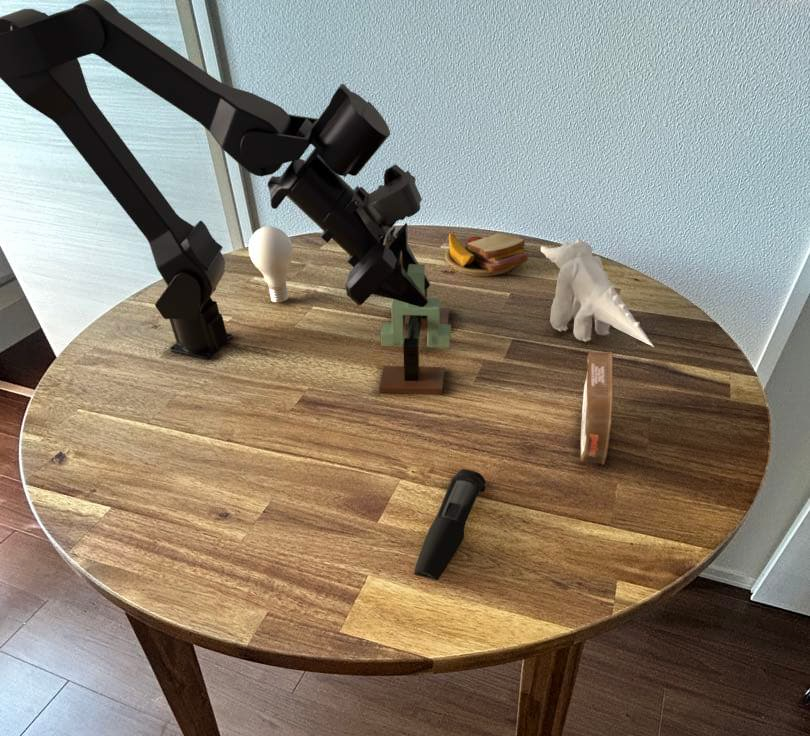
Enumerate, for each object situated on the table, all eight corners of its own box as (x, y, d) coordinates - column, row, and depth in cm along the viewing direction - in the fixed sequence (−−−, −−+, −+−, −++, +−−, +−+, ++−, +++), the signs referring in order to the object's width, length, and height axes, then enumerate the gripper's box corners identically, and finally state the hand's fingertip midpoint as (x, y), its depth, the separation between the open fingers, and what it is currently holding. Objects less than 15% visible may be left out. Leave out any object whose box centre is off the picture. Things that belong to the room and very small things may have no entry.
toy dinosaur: (553, 295, 98) (564, 219, 90) (666, 370, 84) (691, 287, 76) (516, 306, 96) (524, 229, 88) (624, 385, 82) (645, 301, 74)
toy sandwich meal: (499, 241, 113) (502, 212, 109) (537, 272, 104) (541, 242, 100) (433, 254, 110) (433, 225, 106) (466, 287, 101) (467, 257, 98)
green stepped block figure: (381, 345, 87) (378, 273, 80) (383, 334, 89) (380, 262, 82) (449, 347, 87) (452, 274, 80) (450, 336, 89) (453, 264, 82)
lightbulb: (309, 297, 100) (298, 224, 92) (282, 315, 97) (269, 240, 89) (277, 288, 103) (264, 216, 95) (250, 305, 99) (235, 231, 91)
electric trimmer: (403, 585, 61) (402, 563, 59) (455, 479, 71) (455, 457, 68) (441, 596, 60) (441, 574, 58) (488, 487, 70) (490, 465, 67)
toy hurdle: (379, 392, 82) (376, 351, 78) (395, 311, 97) (393, 273, 92) (442, 394, 82) (442, 353, 77) (448, 312, 96) (449, 274, 92)
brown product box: (603, 480, 70) (619, 416, 64) (573, 477, 70) (587, 413, 64) (603, 400, 80) (618, 337, 74) (577, 397, 80) (589, 335, 74)
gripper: (366, 180, 65) (471, 287, 72) (386, 125, 78) (474, 221, 85) (301, 257, 72) (404, 349, 79) (329, 195, 84) (415, 279, 91)
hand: (426, 295), depth 83 cm, fingers open, 4 cm apart
